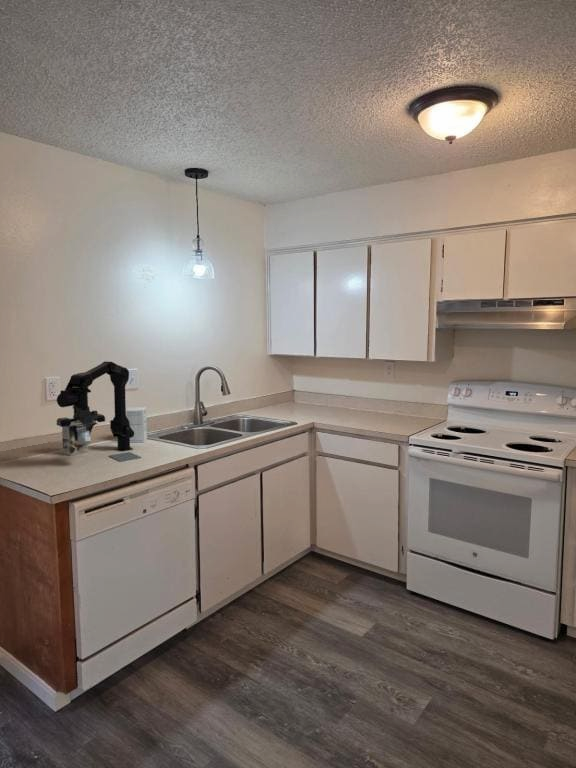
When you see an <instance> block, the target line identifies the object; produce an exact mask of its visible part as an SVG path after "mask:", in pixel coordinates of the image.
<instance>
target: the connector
mask: <svg viewBox="0 0 576 768" xmlns="http://www.w3.org/2000/svg"><path fill="white" fill-rule="evenodd" d="M91 440H92V437H91V433H90V431H88V430H85V429H77V441H76V440H75V438H74V442H76V443H78V444H87V445H89V444H91Z"/></svg>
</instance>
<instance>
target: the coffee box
mask: <svg viewBox="0 0 576 768" xmlns="http://www.w3.org/2000/svg"><path fill="white" fill-rule="evenodd" d="M70 419H74V418H73V417H72V418H70ZM75 425H76V426H77V429H85V430H86V424H82V423H81V422H79V423H75ZM61 437H62V454H63V455H67V456H76V455H79V454H83V453H87V452H88V449H89V448H88V444H78V443H76V442H74V436H73V434H72V432H71V430H70V429H69V427H67V426H65V427H61Z"/></svg>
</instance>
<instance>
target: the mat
mask: <svg viewBox="0 0 576 768" xmlns="http://www.w3.org/2000/svg"><path fill="white" fill-rule="evenodd" d="M108 458H111V459H113V460H116V461H117V462H119V463H120V462H126V461H132V460H139V459H142V456H140V455H138V454H135V453H132V452H130V451H128V452H121V453H116V454H110V455H108Z"/></svg>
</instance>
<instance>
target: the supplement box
mask: <svg viewBox="0 0 576 768" xmlns="http://www.w3.org/2000/svg"><path fill="white" fill-rule="evenodd" d="M126 417H127V419H128V420H129V423H130V428H131V429H132V430H133V431H134V436H133V437H132V438H130V444H131V443H145V442H146V441H147V439H148V424H147V418H148V417H147V407H146V406H144V407H137V406H136V407H127V408H126Z"/></svg>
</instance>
